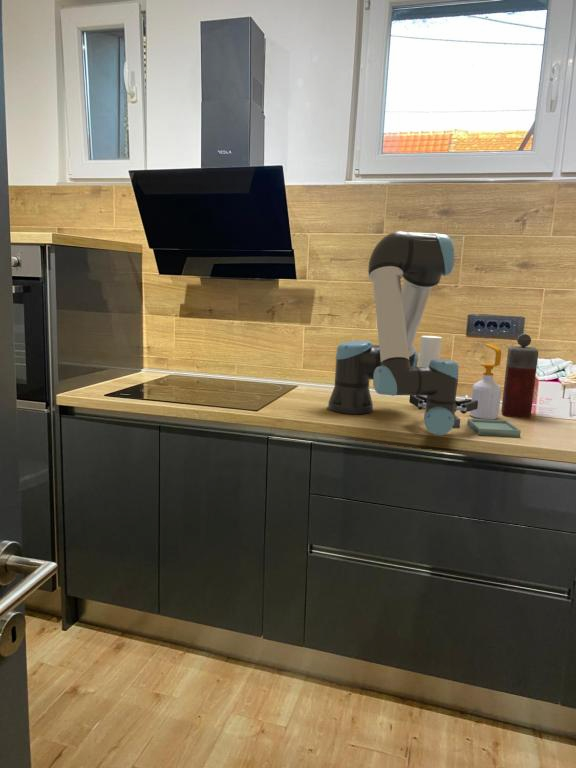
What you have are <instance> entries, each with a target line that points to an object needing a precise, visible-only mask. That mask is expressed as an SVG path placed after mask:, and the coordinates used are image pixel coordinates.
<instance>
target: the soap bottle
mask: <svg viewBox="0 0 576 768" xmlns="http://www.w3.org/2000/svg"><path fill="white" fill-rule="evenodd" d="M484 346H485V347H487V348H489V349H492V350H494V351H495V357H494V363H480V366H482V367H484V369H485V372H482V379H481V380H478V381H477V382H475V383H474V384H473V385H472V389H471V397H470V399H471V400H472V401H475V400H477V401H478V407H477V409H476V410H472V411H469V414H470V417H473V418H474V419H485V420H498V418H499V412H500V403H501V394H502V388H501V386H500V385H499V383H497V382H496V381H495V380H494V376H495V375H494V373H493V372H492V370H494V368H496V367H498V366H500V365H501V358H502V349H501V348H500V347H499V346H495V345H494V344H491V343H485V344H484Z"/></svg>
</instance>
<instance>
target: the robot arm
mask: <svg viewBox="0 0 576 768" xmlns="http://www.w3.org/2000/svg"><path fill="white" fill-rule="evenodd" d="M454 265H455V248H454V243H453V240H452V239H451V238H450V236H448V235H447V234H443V233H436V232H433V233H430V232H429V233H427V232H413V231H399V230H398V231H393V232H391V233H389V234H387V235H385V236H384V237H383V238H381V240H379V242H378V243H377V244H376V246H374V249H373V250H372V253H371V254H370V258H369V261H368V268H367V271H368V278H369V281H370V282H371V283H372V285H373V286H372V287H373V295H374V304H375V305H374V306H375V316H376V326H377V337H378V345H373V343H372V341H371V340H352V341H345V342H342V343H339V345H337V347H336V354H335V371H334V372H335V374H334V387H333V390H332V392H331V395H330V398H329V401H328V404H327V405H328V407H327V408H328V410H330V411H332V412H334V413H335V412H336V413H338V414H339V413H340V414H347V415H364V414H371V413H372V412H373V408H374V404H373V400H372V399H373V398H372V396H371V392H370V380H371V381H372V382H373V385H372V386H373V389H374V390H375V392H376V393H377V394H378V395H384V396H391V397H393V396H409V403H410V404H412V405H413V406H414V407H416V408H417V409H418V410H422V409H425V411H426V414H425V416H424V415H423V423H424V426H425V428H426V430H427V431H428V432H430V433H431V434H433V435H435V436H443V435H446V434H448V433H449V432H451V430H452V429H453V428H454V427H453V426H454V415H456V413H455V412H457V411H460V413H461V414H463V415H465V414H466V413H468V412H469V413H470V411H472V410H476V409H477V407H478V401H477V400H475V401H472V400H471V398H469V395H468V394H465V397H464V399H463V400H462V399H461V400H456V398H457V391H458V389H457V388H458V383H459V364H458V362H457V361H455V360H450V359H444V358H443V359H441V358H440V359H436V360H435V359H434V360H431V361H430V364H429V367H419V366H418V362H419V353H418V350H417V348H416V346H415V344H414V340H415V338H416V335H417V333H418V330H419V329H418V328H419V326H420V323H421V321H422V317H423V315H424V312H425V309H426V306H427V303H428V301H429V298H430V295H431V292H432V289H433V288H434V287H436V286H438V284H439V283H440V281H441V279H442V276H444V277H447V276H449V275H450V274H451V273H452V271H453V268H454ZM402 279H403V281H402V282H403V283H401V280H402ZM424 396H427V397H424ZM424 407H426V408H424Z"/></svg>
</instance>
